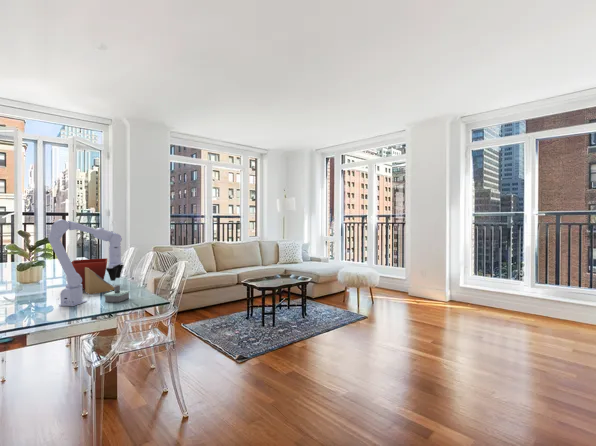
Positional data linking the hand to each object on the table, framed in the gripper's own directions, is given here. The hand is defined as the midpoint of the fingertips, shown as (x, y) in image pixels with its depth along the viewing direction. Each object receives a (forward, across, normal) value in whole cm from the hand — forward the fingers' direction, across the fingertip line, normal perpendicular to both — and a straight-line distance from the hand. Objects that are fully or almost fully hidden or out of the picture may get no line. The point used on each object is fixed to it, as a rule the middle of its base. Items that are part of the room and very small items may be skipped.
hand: (115, 279), depth 183 cm
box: (+10, -6, -3) cm, 12 cm away
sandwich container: (+11, +19, +14) cm, 26 cm away
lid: (+7, -6, -3) cm, 10 cm away
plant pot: (+11, +31, +24) cm, 41 cm away
